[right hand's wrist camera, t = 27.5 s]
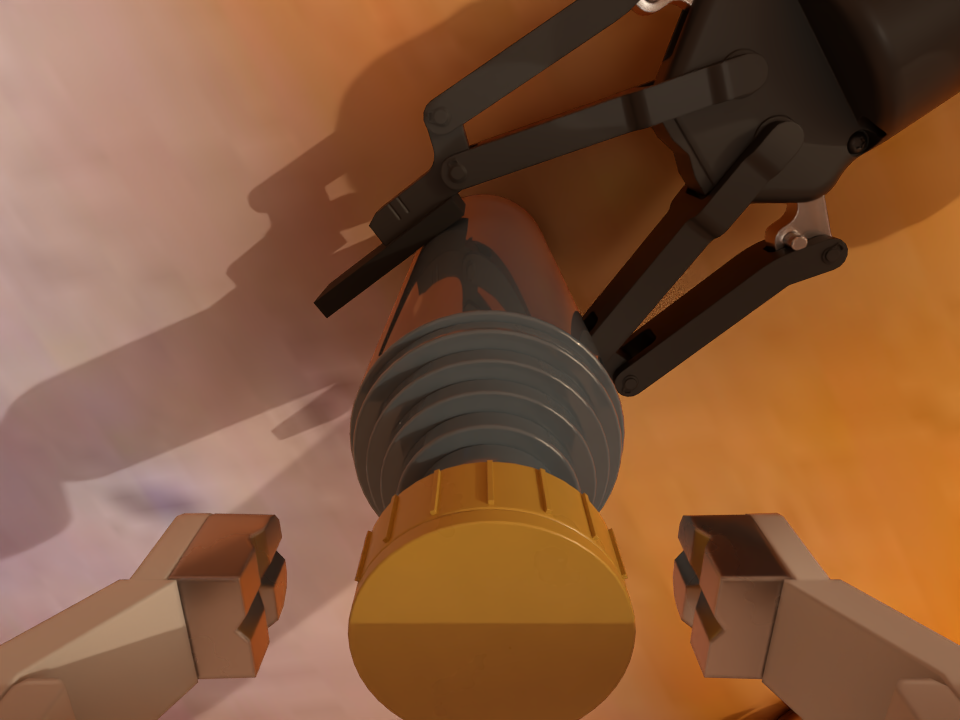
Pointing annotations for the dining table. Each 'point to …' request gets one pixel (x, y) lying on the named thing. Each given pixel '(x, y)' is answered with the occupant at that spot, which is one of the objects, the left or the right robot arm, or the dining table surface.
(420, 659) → the cap
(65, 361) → the dining table surface
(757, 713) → the dining table surface
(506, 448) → the bottle
